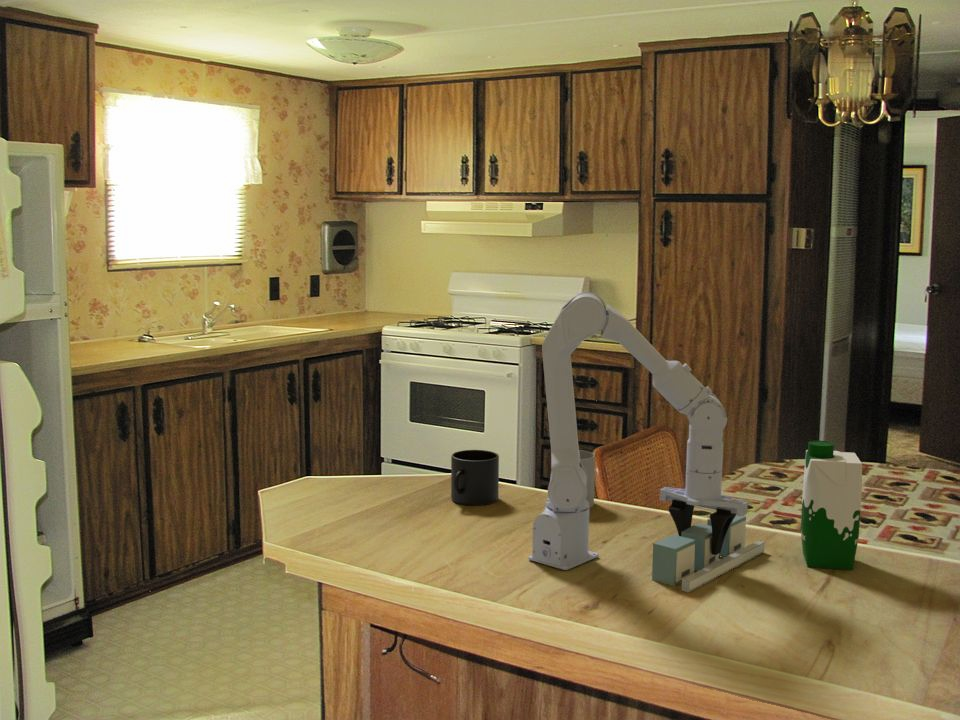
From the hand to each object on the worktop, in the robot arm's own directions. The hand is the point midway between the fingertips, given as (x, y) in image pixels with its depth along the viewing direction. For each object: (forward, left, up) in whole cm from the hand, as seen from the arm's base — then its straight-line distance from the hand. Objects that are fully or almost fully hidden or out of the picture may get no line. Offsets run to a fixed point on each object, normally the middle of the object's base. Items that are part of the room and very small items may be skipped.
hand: (700, 549), depth 169 cm
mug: (+2, +52, -3) cm, 52 cm away
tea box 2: (0, 0, -3) cm, 3 cm away
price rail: (0, -5, -2) cm, 5 cm away
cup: (+14, +36, -3) cm, 38 cm away
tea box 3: (+9, 0, -2) cm, 9 cm away
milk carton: (+16, -15, -3) cm, 22 cm away
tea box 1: (-8, 0, -2) cm, 9 cm away
